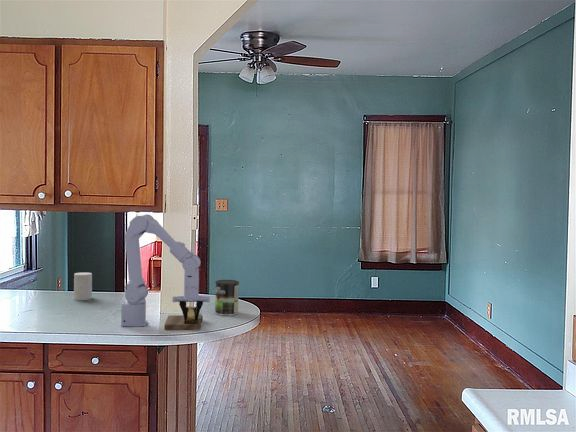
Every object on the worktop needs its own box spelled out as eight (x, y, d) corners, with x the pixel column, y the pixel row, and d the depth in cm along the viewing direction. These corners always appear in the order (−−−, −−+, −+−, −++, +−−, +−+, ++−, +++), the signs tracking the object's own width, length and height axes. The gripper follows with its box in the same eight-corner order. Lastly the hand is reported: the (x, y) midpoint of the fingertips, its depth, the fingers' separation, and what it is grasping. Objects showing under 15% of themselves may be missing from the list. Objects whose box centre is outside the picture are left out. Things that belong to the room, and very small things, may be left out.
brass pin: (185, 324, 242) (185, 308, 241) (186, 322, 246) (186, 306, 245) (195, 324, 242) (196, 308, 242) (196, 322, 246) (196, 306, 246)
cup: (70, 299, 293) (70, 274, 292) (81, 296, 301) (80, 271, 300) (85, 300, 290) (85, 275, 290) (95, 297, 298) (95, 273, 297)
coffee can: (224, 317, 263) (225, 284, 262) (210, 312, 270) (210, 281, 269) (243, 313, 270) (243, 281, 269) (228, 309, 277) (229, 278, 277)
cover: (183, 318, 249) (183, 313, 249) (184, 314, 256) (184, 309, 256) (200, 318, 250) (200, 313, 250) (201, 314, 257) (201, 309, 256)
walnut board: (164, 329, 239) (164, 324, 239) (168, 320, 255) (168, 315, 255) (200, 329, 240) (200, 324, 240) (202, 320, 256) (202, 315, 256)
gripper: (171, 287, 238) (171, 322, 239) (209, 288, 240) (209, 322, 241) (173, 284, 245) (173, 318, 246) (210, 284, 247) (209, 318, 248)
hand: (191, 320), depth 244 cm, fingers closed on brass pin, 4 cm apart
